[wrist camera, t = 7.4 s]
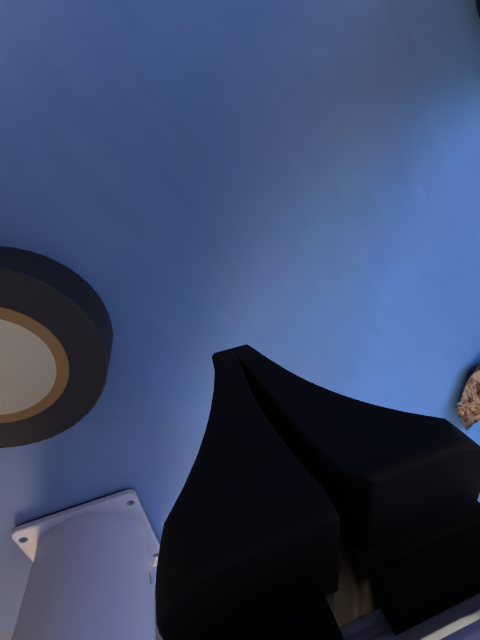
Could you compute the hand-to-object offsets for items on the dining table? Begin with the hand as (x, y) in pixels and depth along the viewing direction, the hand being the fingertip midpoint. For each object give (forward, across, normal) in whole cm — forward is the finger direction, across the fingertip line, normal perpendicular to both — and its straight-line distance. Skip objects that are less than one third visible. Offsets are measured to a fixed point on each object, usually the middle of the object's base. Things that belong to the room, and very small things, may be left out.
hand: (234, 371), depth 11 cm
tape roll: (+7, +10, 0) cm, 12 cm away
